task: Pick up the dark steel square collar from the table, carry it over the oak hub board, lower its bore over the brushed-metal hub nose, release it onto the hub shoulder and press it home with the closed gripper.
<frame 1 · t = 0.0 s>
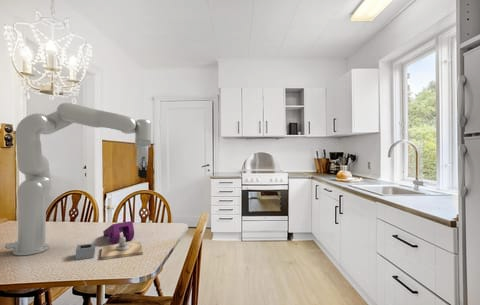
hand: (142, 177, 136), 31 cm above the table, tool pointing down, fingers open, 9 cm apart
hub board: (122, 251, 117), on the table
collar: (85, 256, 111), on the table
mounting bracket: (116, 239, 135), on the table
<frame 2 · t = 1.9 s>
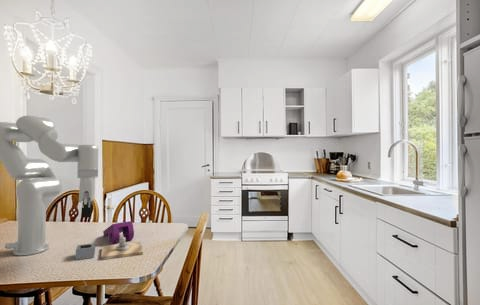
hand: (87, 215, 111), 17 cm above the table, tool pointing down, fingers open, 9 cm apart
nothing on the table moved.
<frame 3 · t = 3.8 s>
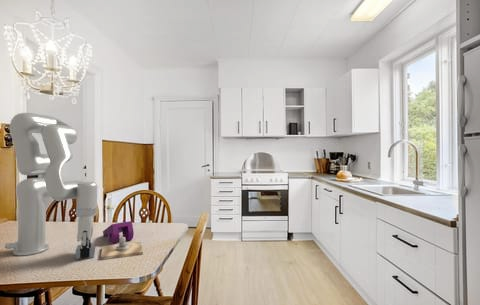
hand: (85, 254, 111), 1 cm above the table, tool pointing down, fingers closed on collar, 6 cm apart
collar: (85, 256, 111), on the table, touching gripper
everything else where it was.
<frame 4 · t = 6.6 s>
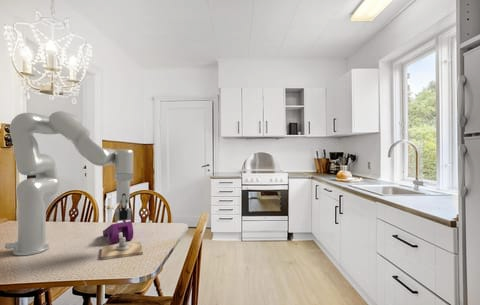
hand: (123, 217, 117), 15 cm above the table, tool pointing down, fingers closed on collar, 6 cm apart
collar: (123, 219, 117), point 14 cm above the table, touching gripper
everything else where it was.
when the fingers open (4 cm above the table, at t = 9.3 s): collar drops 1 cm, resting on hub board.
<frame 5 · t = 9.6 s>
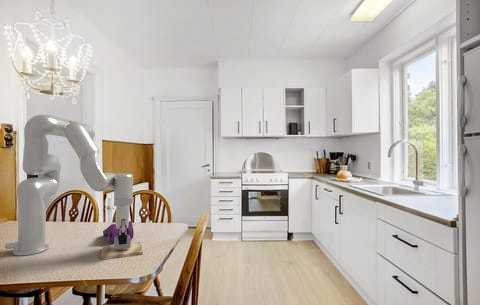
hand: (122, 240, 117), 5 cm above the table, tool pointing down, fingers open, 9 cm apart
collar: (122, 246, 117), point 2 cm above the table, touching hub board
everything else where it was.
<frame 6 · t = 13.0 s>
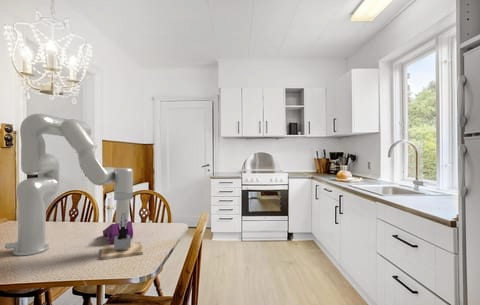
hand: (122, 237, 117), 6 cm above the table, tool pointing down, fingers closed
nothing on the table moved.
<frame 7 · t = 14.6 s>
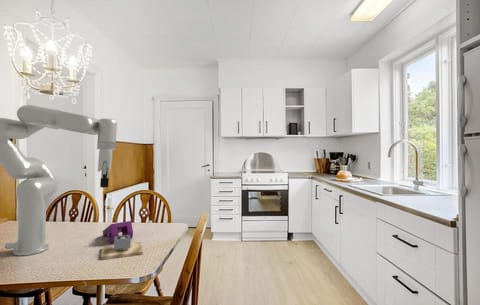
hand: (104, 187, 119), 28 cm above the table, tool pointing down, fingers closed
nothing on the table moved.
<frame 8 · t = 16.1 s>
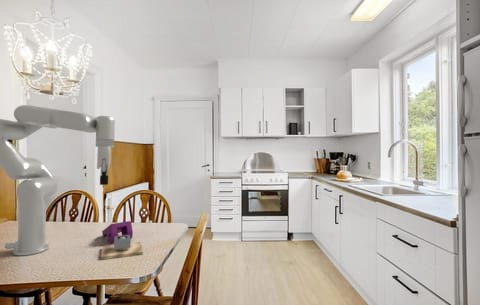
hand: (104, 184, 120), 29 cm above the table, tool pointing down, fingers closed
nothing on the table moved.
at the end: collar 0.1 cm off-centre on the hub board, point 2.2 cm above the hub board's base; collar tilted 0°; the gripper is holding nothing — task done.
